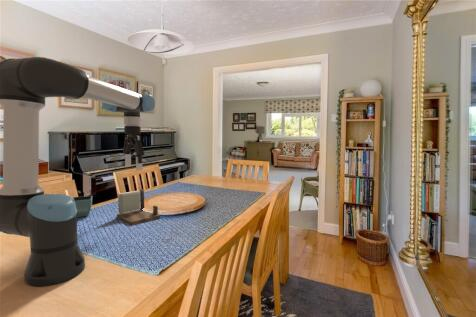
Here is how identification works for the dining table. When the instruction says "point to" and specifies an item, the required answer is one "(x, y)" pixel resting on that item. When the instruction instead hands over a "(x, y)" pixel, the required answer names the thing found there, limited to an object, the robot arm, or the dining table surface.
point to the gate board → (139, 213)
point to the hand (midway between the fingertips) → (133, 168)
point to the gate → (129, 201)
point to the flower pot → (83, 205)
